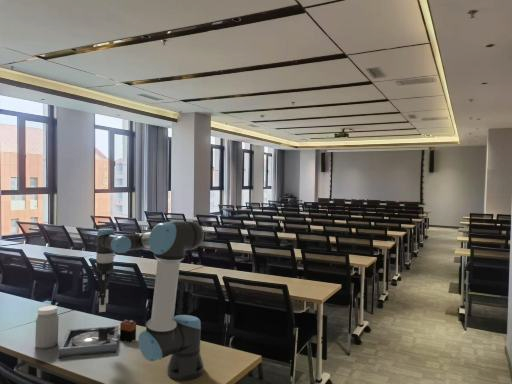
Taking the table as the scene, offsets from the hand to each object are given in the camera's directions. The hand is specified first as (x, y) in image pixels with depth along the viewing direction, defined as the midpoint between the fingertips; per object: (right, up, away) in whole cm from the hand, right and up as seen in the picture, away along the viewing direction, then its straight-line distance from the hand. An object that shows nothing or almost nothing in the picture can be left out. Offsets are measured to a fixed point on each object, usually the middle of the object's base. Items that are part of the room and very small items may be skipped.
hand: (103, 307), depth 176 cm
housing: (-9, -20, +7) cm, 23 cm away
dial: (-9, -19, +7) cm, 22 cm away
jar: (-29, -20, +5) cm, 36 cm away
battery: (+7, -21, +14) cm, 26 cm away
